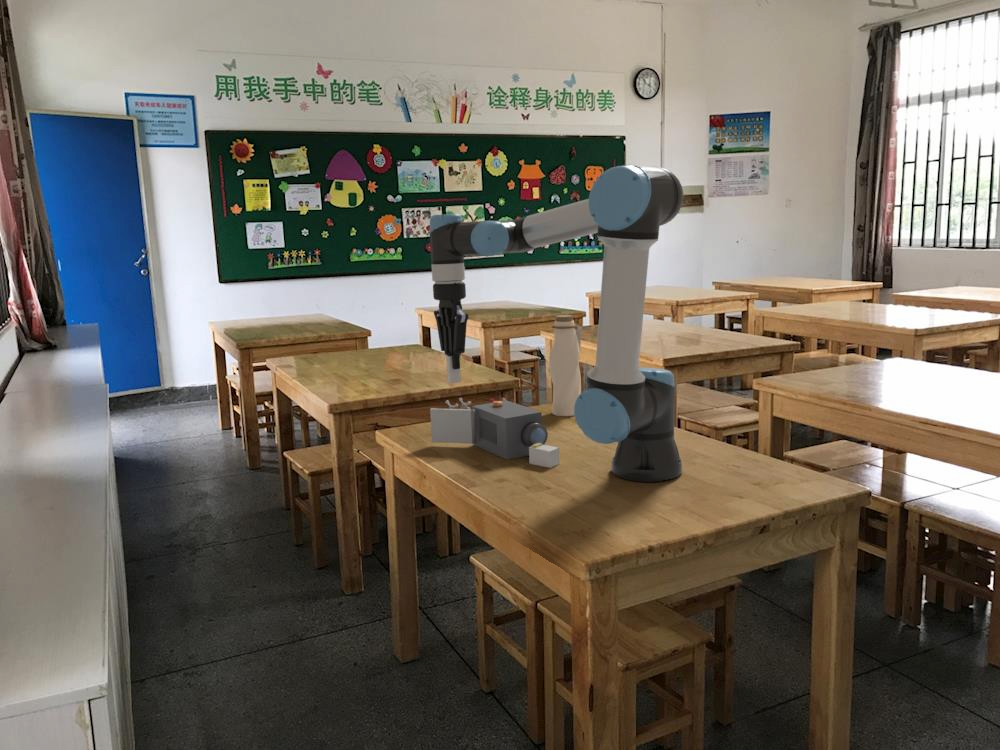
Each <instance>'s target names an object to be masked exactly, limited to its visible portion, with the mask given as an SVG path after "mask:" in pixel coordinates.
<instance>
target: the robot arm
mask: <svg viewBox="0 0 1000 750" xmlns="http://www.w3.org/2000/svg"><path fill="white" fill-rule="evenodd" d="M683 201H684V190H683V186H682V183H681V181H680V179H679V178H678V177H677V176H676V175H675V174H674V173H673V172H672V171H670V170H668V169H666V168H663V167H659V166H641V165H633V164H629V165H617V166H614V167H610V168H608V169H606V170H604V171H603V172H602V173H601V174H600V175H599V176H598V177H597V178H596V180H595V181H594V183H593V184H592V186H591V189H590V192H589V196H588V198H586V199H584V200H579V201H576V202H572V203H568V204H565V205H562V206H558V207H554V208H551V209H548V210H545V211H540V212H536V213H533V214H530V215H527V216H526V215H525V216H523V217H519V218H515V219H510V220H480V221H479V220H477V221H467V222H464V221H463V217H462V215H461V214H460V213H447V214H446V213H445V214H433V215H432V216H430V218H429V233H428V235H429V243H430V256H431V257H430V258H431V276H432V277H431V278H432V279H431V280H432V281H433V282H434V283H433V285H432V292H433V299H434V300H435V301H439V303H438V309H437V310H434V311H433V315H434V319H435V321H436V327H437V333H438V339H439V346H440V350H441V352H443V353H444V355H445V356H446V371H447V373H446V374H447V376H446V377H447V383H448V384H455V383H456V384H457V383H461V382H462V378H461V377H462V375H461V360H460V359H461V358H460V355H462V354H465V352H466V351H465V350H466V337H467V323H468V321H469V320H468V319H469V314H468V312H466V313H464V311H463V305H462V299H465V298H466V297H467V294H466V293H467V292H466V291H467V289H466V283H465V281H464V280H465V277H466V276H465V273H466V272H465V270H466V267H465V257H467V256H468V257H482V256H483V257H494V256H499V255H503V254H514V253H517V254H518V253H519V254H522V253H527V252H532V251H533V250H534V249H536V248H541V247H545V246H548V245H553V244H557V243H561V242H564V241H569V240H574V239H578V238H581V237H586V236H589V235H593V234H597V238H598V240H599V241H601V243H602V244H603V247H604V248H603V262H602V275H601V286H600V287H601V288H600V298H599V299H600V300H599V312H598V313H599V315H598V316H599V317H598V326H597V327H598V329H597V339H596V340H597V341H596V355H595V365H594V366H593V367H591V369H589V370H588V371H587V374H586V383H585V384H586V385H585V389H584V390H582V391H581V394H580V395H579V396H578V398H577V399H576V402H575V405H574V418H575V421H576V424H577V426H578V428H579V429H580V430H581V431H582V433H583V434H584V435H585V436H586V437H587V438H588V439H589V440H591V441H593V442H595V443H598V444H602V445H609V444H612V443H613V444H614V443H617V446H616V449H615V453H614V455H613V458H612V460H611V472H612V474H613V475H615V476H616V477H618V478H620V479H624V480H627V481H633V482H634V481H635V482H640V483H641V482H644V483H645V482H646V483H652V482H653V483H654V482H655V481H656V483H657V481H658V482H664V481H663V480H666V481H669V480H668V479H671V480H673V479H672V478H674V479H676V478H675V477H677V476H678V477H680V476H681V475H682V474H681V473H682V472H683V462H682V461H683V460H682V459H681V457H680V454H679V453H680V452H679V450H678V447H677V443H676V441H675V397H676V396H675V390H676V385H675V376H674V373H673V372H672V371H670V370H668V369H663V368H655V367H643V366H642V367H641V366H639V365H640V355H641V345H642V344H641V343H642V333H643V332H642V331H643V322H644V312H645V311H644V310H645V300H646V290H647V289H646V288H647V277H648V265H649V256H650V248H651V247H652V246H653V245H654V244H656V243H657V242H658V241H659V235H660V226H664V225H667V224H668V223H670V222H671V221H672V220H674V219H675V218H676V217H677V215H678V214H679V212H680V210H681V208H682V206H683ZM463 281H464V282H463ZM680 474H681V475H680ZM679 475H680V476H679ZM678 477H677V478H678Z"/></svg>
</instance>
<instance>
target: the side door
mask: <svg viewBox="0 0 1000 750" xmlns="http://www.w3.org/2000/svg"><path fill="white" fill-rule="evenodd" d="M429 412H430V431H431V443H448V444H468V445H469V444H470V445H471V444H472V445H474V444H477V437H476V412H475V410H474V409H472V408H471V409H470V410H469V409H466V408H463V409H460V408H454V409H449V408H434V407H431V408H430V409H429Z"/></svg>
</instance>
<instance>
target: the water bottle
mask: <svg viewBox="0 0 1000 750" xmlns="http://www.w3.org/2000/svg"><path fill="white" fill-rule="evenodd" d="M550 327H551V328H552V329H554V330H553V331H554V333H553V335H554V336H553V337H554V340H553V341H554V342H553V344H552V347H551V348H550V351H549V356H548V369H549V374H550V379H551V381H552V411H551V412H552V415H554V416H557V417H575V415H574V405H575V402H576V399H577V398H578V396H579V395H580V394H581V393H582V383H581V382H582V380H581V370H580V366H579V365H580V351H582V350H581V348H582V347H581V344H582V343H581V342H582V339H581V337H582V335H581V334H582V333H581V332H582V326H581V325H579V324H576V323H575V321H574V315H572V314H560V315H556V316H555V320H554V324H551V325H550Z"/></svg>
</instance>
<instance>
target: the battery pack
mask: <svg viewBox="0 0 1000 750" xmlns="http://www.w3.org/2000/svg"><path fill="white" fill-rule="evenodd" d="M528 456H529V457H528V459H529V460H528V461H529V462H528V463H529V464H530V465H535V466H540V467H544V468H550V469H551V468H554V467H556V466H558V465H560V447H559V446H558V447H557V446H552V445H546V444H544V445H542V443H536V444H534V445H532V446H531V447H529V455H528Z"/></svg>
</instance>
